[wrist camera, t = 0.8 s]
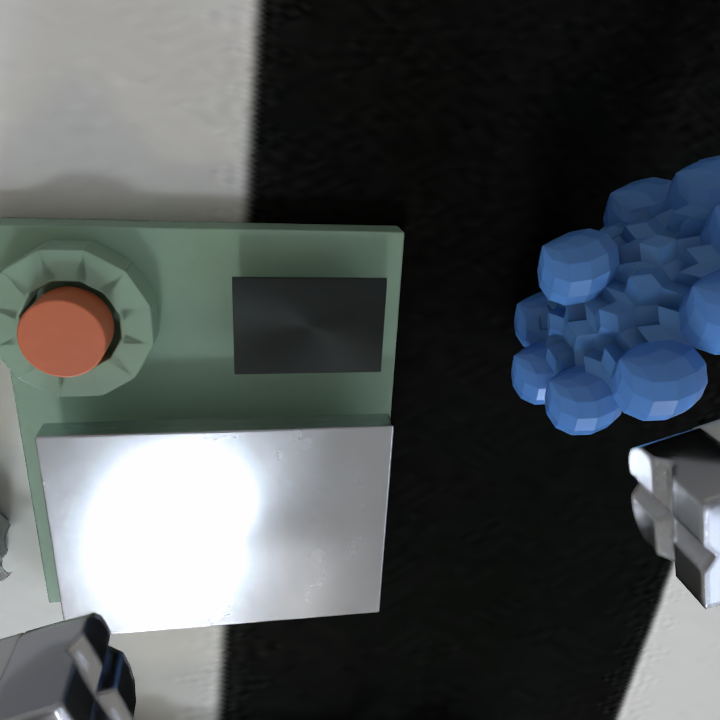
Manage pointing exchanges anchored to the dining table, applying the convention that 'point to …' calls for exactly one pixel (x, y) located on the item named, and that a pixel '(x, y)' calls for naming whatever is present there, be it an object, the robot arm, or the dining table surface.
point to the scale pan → (233, 484)
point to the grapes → (626, 307)
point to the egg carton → (3, 546)
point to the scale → (179, 323)
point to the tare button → (65, 331)
